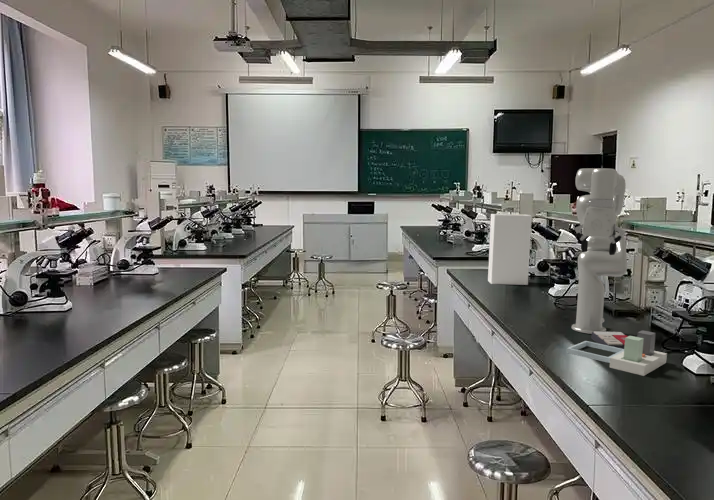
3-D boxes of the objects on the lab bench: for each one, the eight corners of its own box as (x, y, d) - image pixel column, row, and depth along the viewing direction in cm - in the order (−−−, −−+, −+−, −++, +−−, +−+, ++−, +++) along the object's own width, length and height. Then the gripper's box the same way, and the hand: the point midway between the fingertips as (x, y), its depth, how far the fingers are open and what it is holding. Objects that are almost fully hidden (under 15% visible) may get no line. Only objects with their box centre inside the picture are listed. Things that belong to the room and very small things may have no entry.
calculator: (608, 343, 190) (591, 329, 205) (607, 355, 191) (590, 341, 206) (640, 344, 190) (621, 330, 205) (639, 356, 191) (620, 341, 205)
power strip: (633, 358, 185) (634, 344, 184) (665, 365, 178) (667, 351, 177) (609, 370, 172) (610, 355, 171) (643, 379, 165) (644, 363, 164)
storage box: (523, 281, 331) (526, 214, 327) (527, 284, 321) (531, 215, 316) (487, 280, 332) (490, 213, 327) (491, 284, 322) (494, 214, 317)
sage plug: (627, 365, 174) (629, 335, 173) (641, 368, 171) (643, 338, 170) (622, 368, 171) (625, 337, 170) (636, 371, 168) (639, 340, 167)
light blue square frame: (585, 347, 196) (585, 340, 196) (626, 357, 186) (626, 349, 186) (566, 355, 186) (566, 348, 186) (608, 365, 176) (609, 358, 176)
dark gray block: (640, 358, 181) (642, 330, 180) (653, 361, 178) (655, 332, 177) (635, 361, 178) (637, 332, 177) (648, 364, 175) (651, 335, 174)
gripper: (572, 203, 197) (569, 251, 199) (622, 205, 185) (618, 256, 187) (581, 203, 202) (578, 250, 204) (631, 205, 190) (627, 254, 192)
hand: (597, 253), depth 195 cm, fingers open, 9 cm apart
